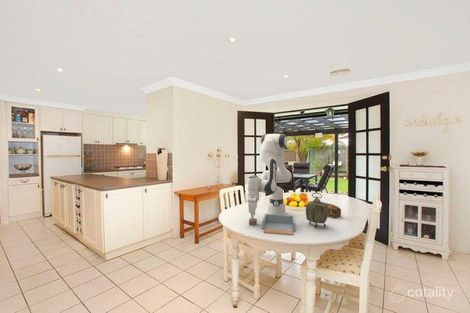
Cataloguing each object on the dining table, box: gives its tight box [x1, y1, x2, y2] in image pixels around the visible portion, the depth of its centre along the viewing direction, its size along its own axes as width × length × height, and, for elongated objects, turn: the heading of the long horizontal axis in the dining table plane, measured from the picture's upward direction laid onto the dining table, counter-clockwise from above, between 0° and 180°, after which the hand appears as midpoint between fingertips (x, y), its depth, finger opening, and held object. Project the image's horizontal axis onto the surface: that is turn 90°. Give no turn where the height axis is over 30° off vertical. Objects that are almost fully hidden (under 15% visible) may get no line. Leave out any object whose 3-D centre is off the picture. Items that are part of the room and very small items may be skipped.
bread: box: [325, 202, 342, 219], centre depth 192 cm, size 19×11×10 cm, turn 31°
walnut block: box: [248, 217, 258, 226], centre depth 164 cm, size 5×5×5 cm
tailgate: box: [263, 229, 294, 236], centre depth 148 cm, size 1×19×7 cm
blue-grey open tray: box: [261, 213, 296, 233], centre depth 159 cm, size 17×22×7 cm
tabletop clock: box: [305, 192, 328, 228], centre depth 162 cm, size 14×9×25 cm, turn 59°
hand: (253, 216), depth 163 cm, fingers open, 8 cm apart
